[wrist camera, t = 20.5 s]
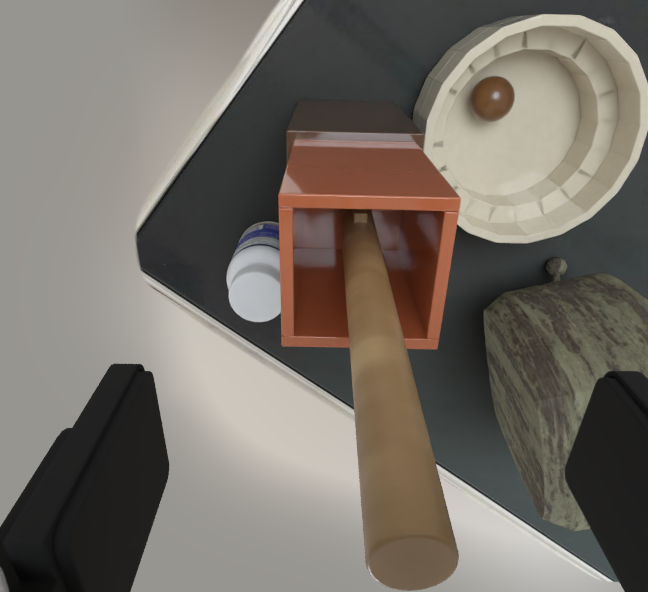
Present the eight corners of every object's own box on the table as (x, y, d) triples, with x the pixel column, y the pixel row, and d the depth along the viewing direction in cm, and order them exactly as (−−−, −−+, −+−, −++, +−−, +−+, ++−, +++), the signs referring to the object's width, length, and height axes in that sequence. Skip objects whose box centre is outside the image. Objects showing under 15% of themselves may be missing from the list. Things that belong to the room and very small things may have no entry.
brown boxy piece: (298, 99, 36) (265, 181, 16) (393, 101, 36) (475, 186, 16) (299, 192, 40) (271, 355, 20) (386, 194, 40) (446, 358, 20)
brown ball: (531, 96, 33) (508, 117, 36) (507, 59, 33) (486, 83, 36) (498, 116, 33) (477, 136, 35) (472, 79, 33) (454, 102, 36)
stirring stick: (338, 225, 27) (363, 606, 9) (339, 181, 26) (369, 518, 8) (368, 225, 27) (451, 606, 9) (370, 181, 26) (469, 518, 8)
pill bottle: (299, 278, 43) (293, 333, 35) (239, 275, 43) (220, 329, 35) (301, 221, 41) (296, 266, 33) (238, 217, 41) (217, 261, 33)
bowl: (421, 14, 34) (439, 11, 28) (628, 19, 34) (684, 17, 29) (401, 213, 40) (412, 241, 35) (574, 217, 41) (611, 245, 35)
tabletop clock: (574, 373, 48) (784, 663, 26) (480, 390, 49) (606, 683, 27) (573, 237, 41) (853, 472, 19) (464, 261, 42) (613, 508, 20)
